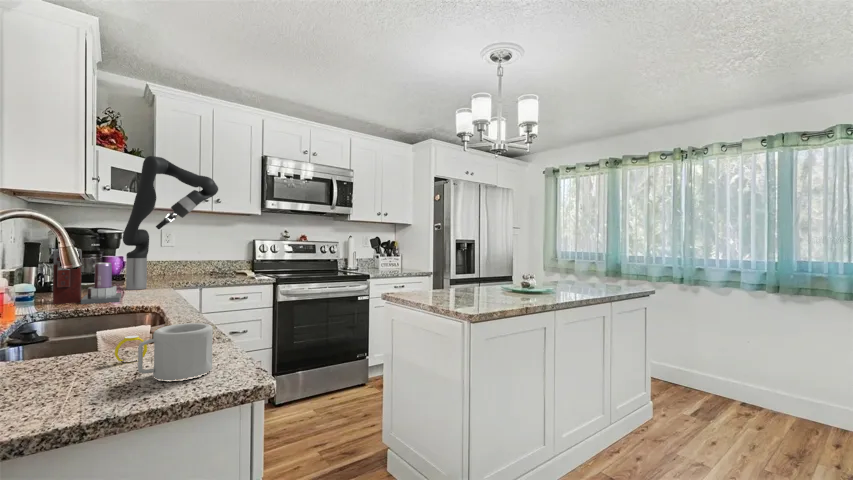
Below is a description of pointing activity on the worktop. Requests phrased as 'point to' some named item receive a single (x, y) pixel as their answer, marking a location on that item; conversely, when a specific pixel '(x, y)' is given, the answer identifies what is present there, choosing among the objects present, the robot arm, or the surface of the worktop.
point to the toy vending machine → (66, 282)
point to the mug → (180, 351)
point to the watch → (129, 338)
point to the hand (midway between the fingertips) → (157, 228)
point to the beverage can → (103, 275)
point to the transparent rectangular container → (101, 295)
